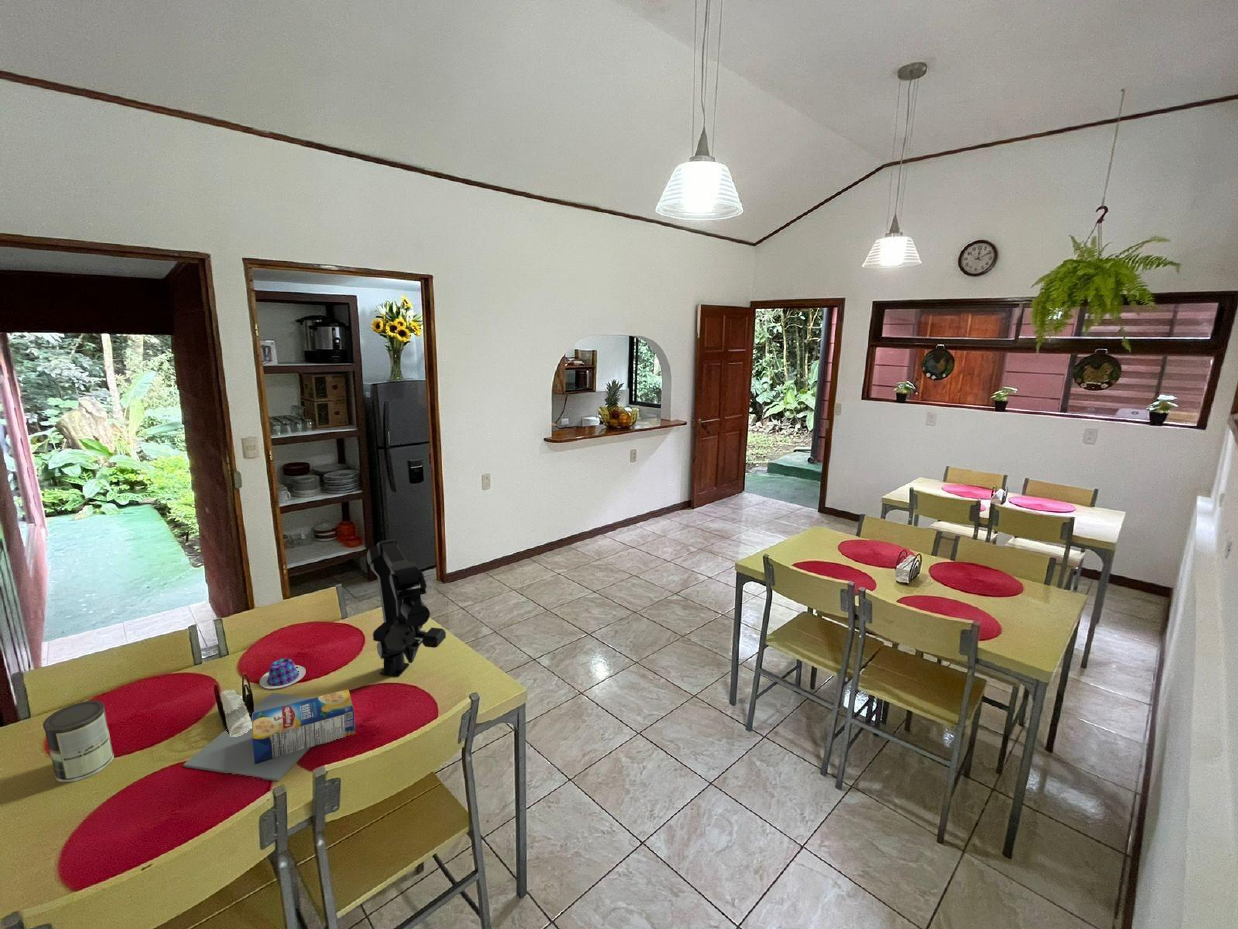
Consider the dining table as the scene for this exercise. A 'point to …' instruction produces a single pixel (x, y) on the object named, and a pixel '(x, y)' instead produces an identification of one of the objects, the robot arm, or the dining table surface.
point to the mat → (246, 750)
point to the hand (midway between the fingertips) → (411, 662)
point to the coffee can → (78, 741)
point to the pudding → (282, 674)
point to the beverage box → (302, 725)
